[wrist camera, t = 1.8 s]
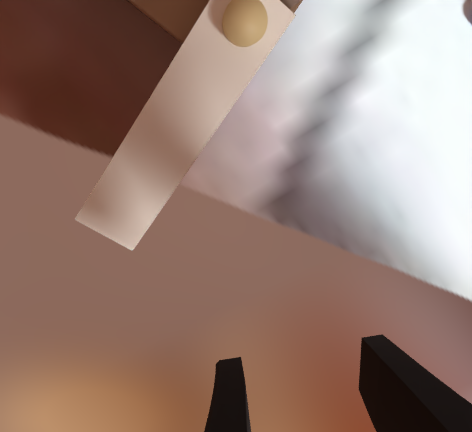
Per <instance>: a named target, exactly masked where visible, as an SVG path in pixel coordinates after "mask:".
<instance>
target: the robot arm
mask: <svg viewBox="0 0 472 432" xmlns="http://www.w3.org/2000/svg"><path fill="white" fill-rule="evenodd" d="M359 391H360V393H361V396H362V399H363V401H364V404H365V406H366V409H367V411H368V414H369V416H370V418H371V421H372V423H373V425H374V428H375V429H376V431H377V432H472V404H471V403H469V402H468V401H467V400H465V399H464V398H463V397H461V396H460V395H459V394H457V393H456V392H455V391H453V390H452V389H451V388H450V387H448V386H447V385H446V384H444V383H443V382H441V381H440V380H439V379H438V378H436V377H435V376H434V375H433V374H431V373H430V372H428V371H427V370H426V369H425V368H424V367H422V366H421V365H420V364H419V363H417V362H416V361H415V360H414V359H412V358H411V357H410V356H409V355H407V354H406V353H405V352H404V351H402V350H401V349H400V348H399V347H397V346H396V345H395V344H394V343H392V342H391V341H390V340H389V339H387V338H386V337H385V336H383V335H376V336H370V337H364V338H362V343H361V360H360V377H359ZM204 432H251V427H250V420H249V410H248V402H247V394H246V385H245V378H244V372H243V367H242V361H241V357H238V358H232V359H225V360H219V362H217V364H216V374H215V383H214V389H213V395H212V400H211V406H210V410H209V414H208V418H207V423H206V427H205V431H204Z"/></svg>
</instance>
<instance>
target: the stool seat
mask: <svg viewBox="0 0 472 432" xmlns="http://www.w3.org/2000/svg"><path fill="white" fill-rule="evenodd" d="M127 1H129V2H130V3H131V4H132V5H134V6H135V7H136V8H138V9H139V10H140V11H141V12H143V13H144V14H145V15H146V16H148V17H149V18H150V19H151V20H153V21H154V22H155V23H157V24H158V25H159V26H160V27H162V28H163V29H164V30H165V31H167V32H168V33H169V34H171V35H172V36H173V37H174V38H176V39H177V40H178V41H179V42H181V43H182V44H183V43H184V41H185V40H186V38H187V36H188V35H189V33H190V31H191V30H192V28H193V27H194V25H195V23H196V22H197V20H198V18H199V17H200V15H201V14H202V12H203V10H204V9H205V7H206V5H207V4H208V2H209V1H210V0H127ZM280 1H281V2H282V3H283V4H284V5H285V6H286V7H288V8H289V9H290V10H291V11H292V12H293V13H294V12H295V11H296V9H297V8H298V6H299V5H300V3H301V2H302V1H303V0H280Z"/></svg>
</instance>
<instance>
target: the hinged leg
mask: <svg viewBox="0 0 472 432" xmlns="http://www.w3.org/2000/svg"><path fill="white" fill-rule="evenodd" d="M295 16H296V15H295V14H294V13H293V12H292V11H291V10H290V9H289V8H288V7H286V6H285V5H284V4H283V3H282V2H281V1H280V0H210V1H209V2H208V4H207V5H206V7H205V9H204V10H203V12H202V14H201V15H200V17H199V18H198V20H197V22H196V23H195V25H194V27H193V28H192V30H191V31H190V33H189V35H188V36H187V38H186V40H185V41H184V43H183V44H182V46H181V48H180V49H179V51H178V52H177V54H176V56H175V57H174V59H173V61H172V62H171V64H170V65H169V67H168V69H167V70H166V72H165V74H164V75H163V77H162V78H161V80H160V82H159V83H158V85H157V87H156V88H155V90H154V91H153V93H152V95H151V96H150V98H149V100H148V101H147V103H146V104H145V106H144V108H143V109H142V111H141V113H140V114H139V116H138V117H137V119H136V121H135V122H134V124H133V125H132V127H131V129H130V130H129V132H128V134H127V135H126V137H125V138H124V140H123V142H122V143H121V145H120V147H119V148H118V150H117V151H116V153H115V155H114V156H113V158H112V160H111V161H110V163H109V164H108V166H107V168H106V169H105V171H104V173H103V174H102V176H101V177H100V179H99V181H98V182H97V184H96V186H95V187H94V189H93V191H92V192H91V194H90V195H89V197H88V199H87V200H86V202H85V203H84V205H83V207H82V208H81V210H80V211H79V213H78V215H77V216H76V218H75V220H76V221H78V222H80V223H82V224H84V225H86V226H87V227H89V228H91V229H93V230H95V231H97V232H99V233H100V234H102V235H104V236H106V237H108V238H110V239H111V240H113V241H115V242H117V243H119V244H121V245H123V246H124V247H126V248H128V249H130V250H132V251H133V250H134V248H135V247H136V245H137V244H138V242H139V241H140V239H141V238H142V237H143V235H144V234H145V232H146V231H147V229H148V228H149V226H150V225H151V224H152V222H153V220H154V219H155V218H156V216H157V215H158V213H159V212H160V211H161V209H162V207H163V206H164V205H165V203H166V202H167V200H168V199H169V198H170V196H171V195H172V193H173V192H174V190H175V189H176V187H177V186H178V185H179V183H180V182H181V180H182V179H183V177H184V176H185V174H186V173H187V172H188V170H189V169H190V167H191V166H192V164H193V163H194V161H195V160H196V159H197V157H198V156H199V154H200V153H201V151H202V150H203V148H204V147H205V146H206V144H207V143H208V141H209V140H210V138H211V137H212V135H213V134H214V133H215V131H216V130H217V128H218V127H219V125H220V124H221V122H222V121H223V120H224V118H225V117H226V115H227V114H228V112H229V111H230V109H231V108H232V107H233V105H234V104H235V102H236V101H237V99H238V98H239V96H240V95H241V94H242V92H243V91H244V89H245V88H246V86H247V85H248V83H249V82H250V81H251V79H252V78H253V76H254V75H255V73H256V72H257V70H258V69H259V68H260V66H261V65H262V63H263V62H264V60H265V59H266V57H267V56H268V55H269V53H270V52H271V50H272V49H273V47H274V46H275V44H276V43H277V42H278V40H279V39H280V37H281V36H282V34H283V33H284V31H285V30H286V29H287V27H288V26H289V24H290V23H291V21H292V20H293V18H294V17H295Z"/></svg>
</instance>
